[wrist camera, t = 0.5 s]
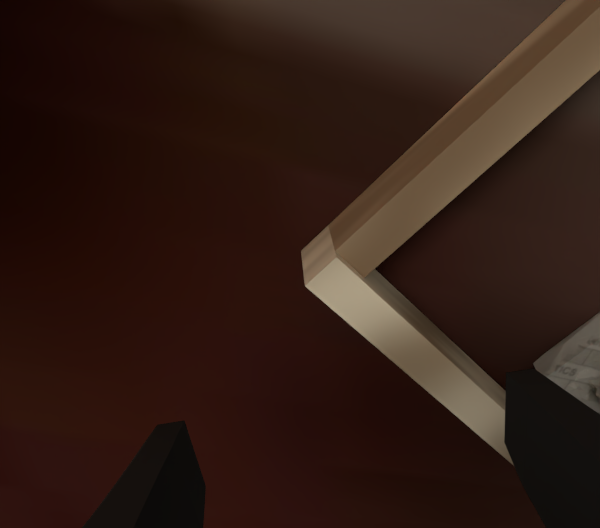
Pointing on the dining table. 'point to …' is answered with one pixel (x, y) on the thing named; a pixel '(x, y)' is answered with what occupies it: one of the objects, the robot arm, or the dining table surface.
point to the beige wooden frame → (434, 197)
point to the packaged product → (576, 363)
